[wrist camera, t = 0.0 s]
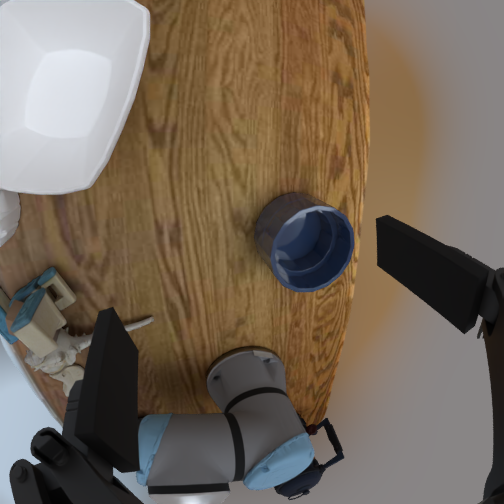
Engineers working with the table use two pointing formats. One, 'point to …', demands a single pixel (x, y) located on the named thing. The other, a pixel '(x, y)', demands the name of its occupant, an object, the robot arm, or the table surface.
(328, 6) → the table surface
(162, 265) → the table surface
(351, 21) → the table surface
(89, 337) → the seashell
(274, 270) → the glazed bowl
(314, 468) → the dark blue bag
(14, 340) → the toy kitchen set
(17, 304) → the wooden block
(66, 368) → the fossil
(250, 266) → the table surface
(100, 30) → the bowl
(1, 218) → the decorative vase
